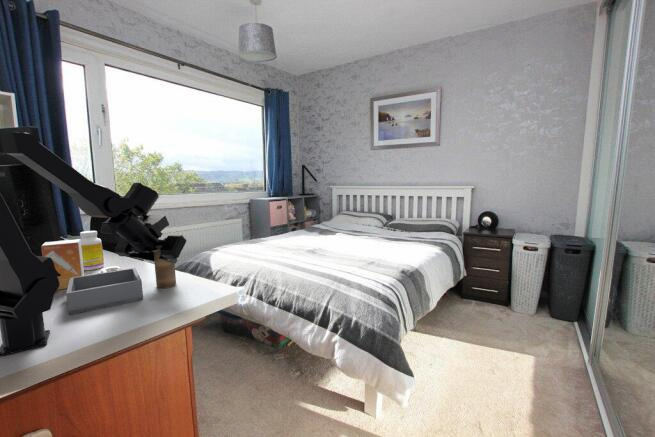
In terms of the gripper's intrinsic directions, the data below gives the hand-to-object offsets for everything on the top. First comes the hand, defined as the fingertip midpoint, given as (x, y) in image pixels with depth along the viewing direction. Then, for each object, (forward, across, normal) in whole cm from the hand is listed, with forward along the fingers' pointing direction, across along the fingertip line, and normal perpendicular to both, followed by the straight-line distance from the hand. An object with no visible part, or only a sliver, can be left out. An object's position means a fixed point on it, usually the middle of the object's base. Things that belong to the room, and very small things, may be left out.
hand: (168, 261), depth 91 cm
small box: (0, +29, +10) cm, 30 cm away
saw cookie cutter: (+9, +26, +1) cm, 28 cm away
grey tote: (-4, +8, +14) cm, 17 cm away
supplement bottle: (+12, +39, -2) cm, 41 cm away
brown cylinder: (+4, 0, +6) cm, 7 cm away
